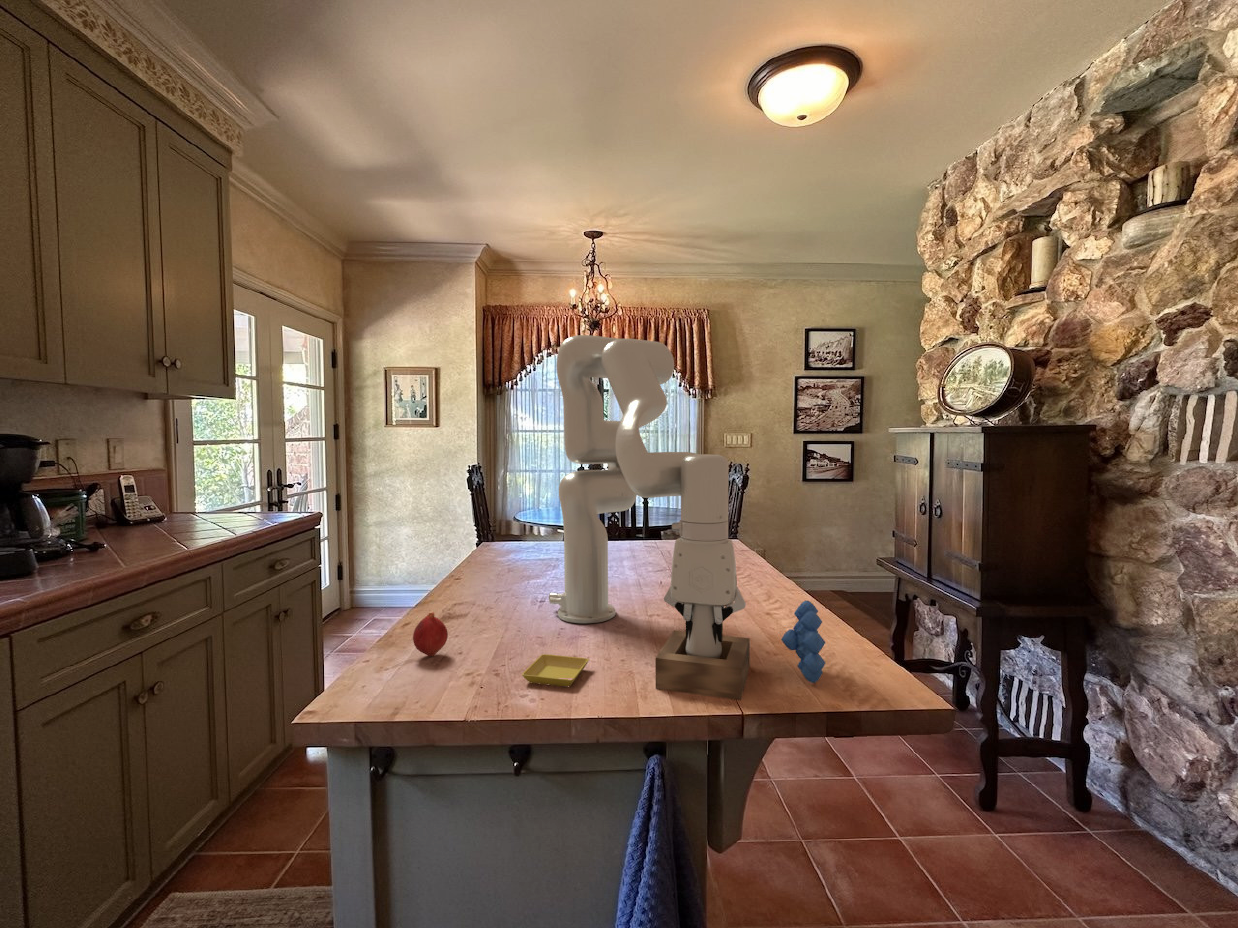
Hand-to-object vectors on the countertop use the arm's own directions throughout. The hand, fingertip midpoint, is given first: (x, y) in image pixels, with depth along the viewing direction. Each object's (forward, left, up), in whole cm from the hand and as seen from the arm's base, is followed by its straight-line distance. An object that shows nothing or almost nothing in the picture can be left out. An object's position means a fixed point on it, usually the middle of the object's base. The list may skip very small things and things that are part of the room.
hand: (704, 643), depth 91 cm
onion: (-48, -6, -6) cm, 49 cm away
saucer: (-23, -7, -6) cm, 25 cm away
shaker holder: (0, 0, -6) cm, 6 cm away
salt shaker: (0, 0, -3) cm, 3 cm away
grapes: (+15, +5, -6) cm, 17 cm away
